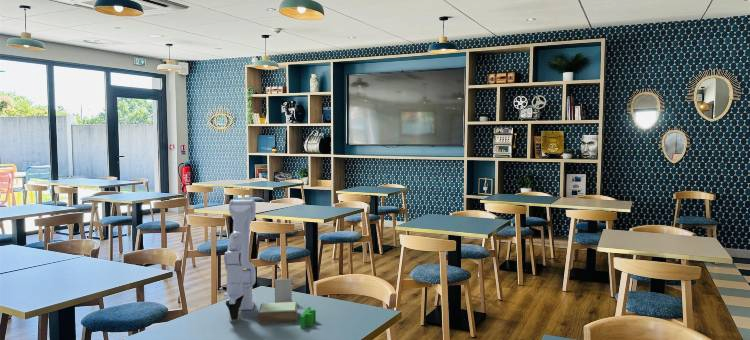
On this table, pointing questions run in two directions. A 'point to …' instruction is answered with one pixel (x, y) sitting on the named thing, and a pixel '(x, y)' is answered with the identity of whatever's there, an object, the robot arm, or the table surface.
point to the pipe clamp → (308, 317)
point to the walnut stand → (277, 312)
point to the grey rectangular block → (283, 290)
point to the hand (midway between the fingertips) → (235, 317)
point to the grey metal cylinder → (237, 318)
